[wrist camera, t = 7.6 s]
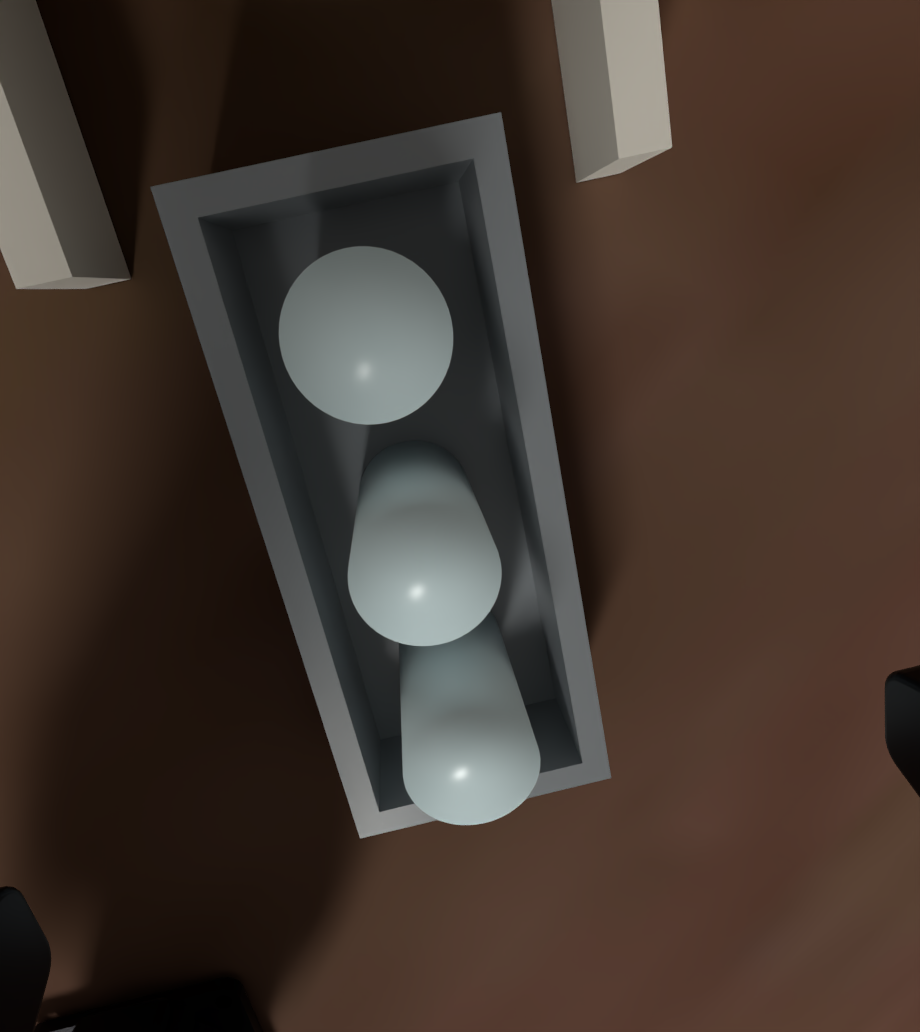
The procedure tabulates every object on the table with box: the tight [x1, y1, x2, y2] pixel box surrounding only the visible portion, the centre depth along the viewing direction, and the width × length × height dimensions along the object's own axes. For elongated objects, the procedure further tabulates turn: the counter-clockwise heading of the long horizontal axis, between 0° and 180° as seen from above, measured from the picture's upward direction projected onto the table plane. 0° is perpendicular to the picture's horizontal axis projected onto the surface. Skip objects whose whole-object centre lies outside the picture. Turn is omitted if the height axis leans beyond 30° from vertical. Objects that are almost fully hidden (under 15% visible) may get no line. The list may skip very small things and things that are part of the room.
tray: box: [151, 112, 611, 839], centre depth 14 cm, size 14×6×6 cm, turn 12°
